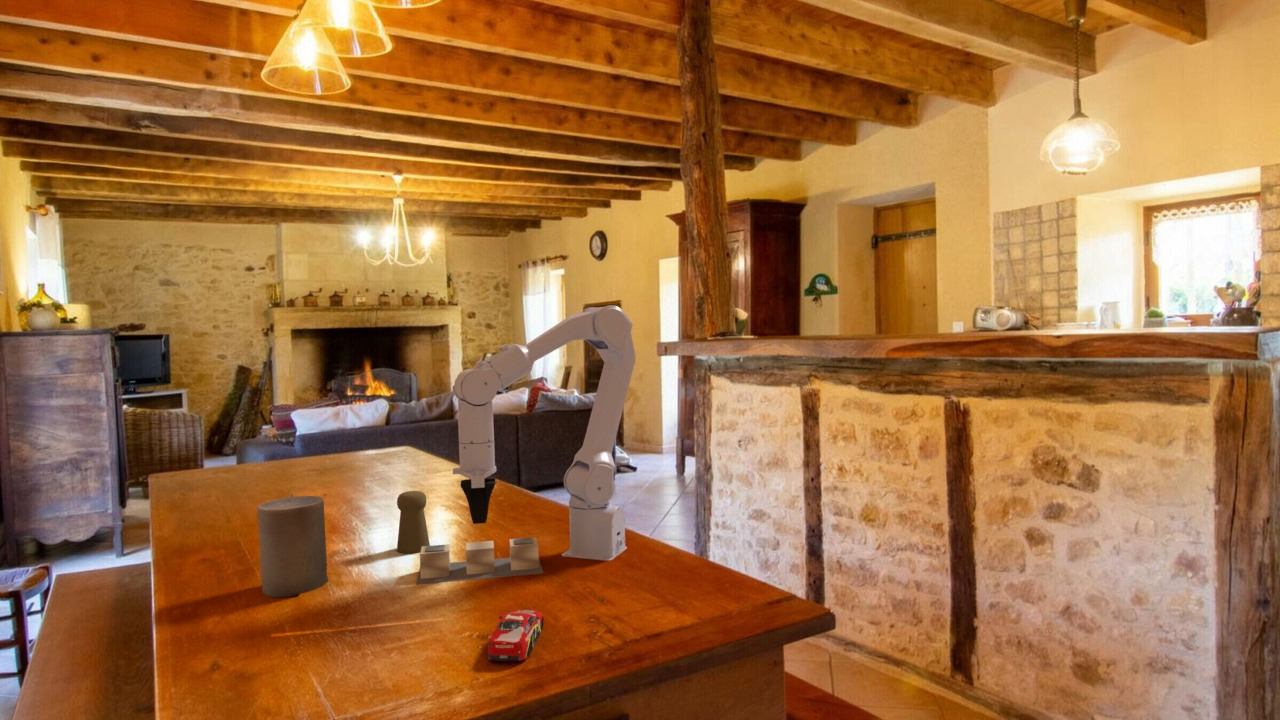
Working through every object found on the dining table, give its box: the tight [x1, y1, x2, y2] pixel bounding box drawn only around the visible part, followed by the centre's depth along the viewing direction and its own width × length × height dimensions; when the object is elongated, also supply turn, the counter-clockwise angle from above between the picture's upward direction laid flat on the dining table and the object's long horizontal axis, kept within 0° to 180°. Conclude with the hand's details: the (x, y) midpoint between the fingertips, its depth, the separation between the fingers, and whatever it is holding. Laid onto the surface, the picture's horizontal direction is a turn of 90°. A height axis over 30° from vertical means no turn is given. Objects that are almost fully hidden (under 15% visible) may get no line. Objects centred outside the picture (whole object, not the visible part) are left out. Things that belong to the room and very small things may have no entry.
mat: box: [415, 554, 544, 586], centre depth 126 cm, size 20×10×1 cm, turn 102°
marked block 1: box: [419, 544, 451, 579], centre depth 125 cm, size 4×4×4 cm
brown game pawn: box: [396, 490, 431, 555], centre depth 139 cm, size 6×6×11 cm
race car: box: [487, 609, 545, 662], centre depth 97 cm, size 13×5×4 cm, turn 175°
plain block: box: [465, 540, 495, 574], centre depth 126 cm, size 4×4×4 cm
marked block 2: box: [509, 536, 539, 570], centre depth 128 cm, size 4×4×4 cm
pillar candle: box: [257, 493, 329, 598], centre depth 120 cm, size 10×10×15 cm
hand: (479, 522), depth 126 cm, fingers closed
